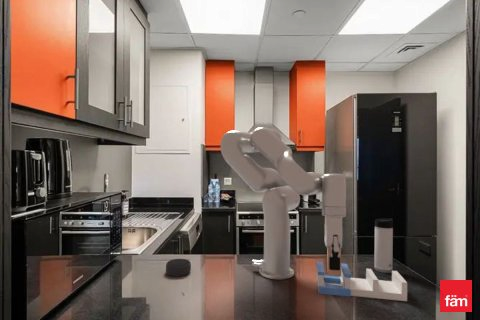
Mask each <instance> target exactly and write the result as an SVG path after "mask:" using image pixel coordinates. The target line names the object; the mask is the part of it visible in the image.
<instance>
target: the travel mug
mask: <svg viewBox="0 0 480 320" xmlns="http://www.w3.org/2000/svg"><path fill="white" fill-rule="evenodd" d="M394 221H395V220H394V219H393V218H391V217H390V218H387V217H386V218H382V217H381V218H376V219H375V220H374V257H373V259H374V260H373V261H374V265H373V266H374V270H375V271H376V272H378V273H379V272H380V273H383V274H392V271H393V256H394V255H393V249H394V248H393V246H394V245H393V244H394V243H393V242H394V241H393V239H394V238H393V237H394V228H393V222H394Z"/></svg>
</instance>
